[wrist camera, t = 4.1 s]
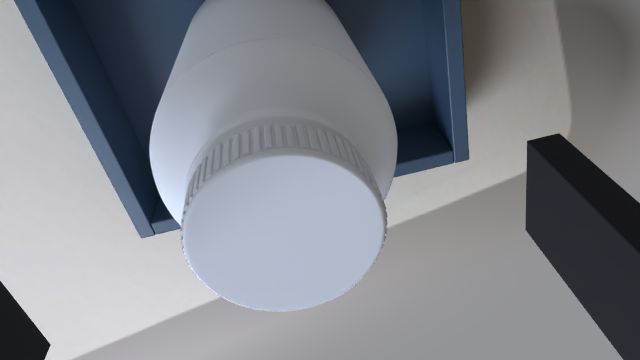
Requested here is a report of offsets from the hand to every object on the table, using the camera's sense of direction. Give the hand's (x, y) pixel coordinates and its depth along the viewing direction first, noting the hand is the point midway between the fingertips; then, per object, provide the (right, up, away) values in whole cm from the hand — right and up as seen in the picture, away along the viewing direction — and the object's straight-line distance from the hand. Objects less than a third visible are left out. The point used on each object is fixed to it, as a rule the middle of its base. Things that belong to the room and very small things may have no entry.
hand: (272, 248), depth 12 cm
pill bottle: (-2, +8, +13) cm, 15 cm away
